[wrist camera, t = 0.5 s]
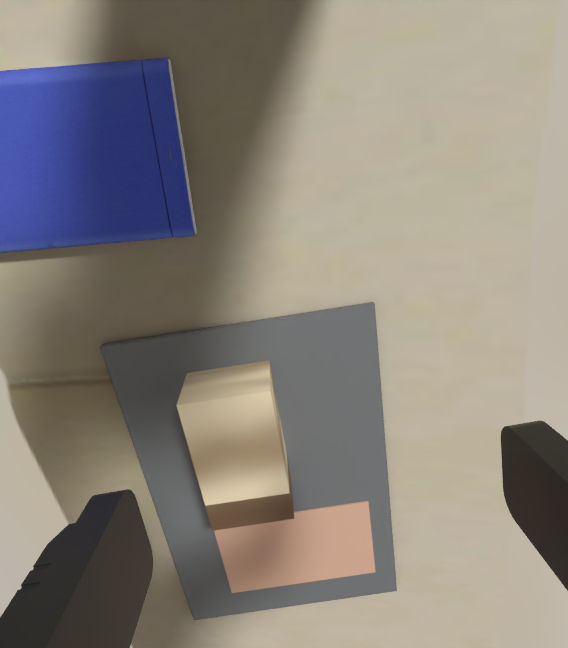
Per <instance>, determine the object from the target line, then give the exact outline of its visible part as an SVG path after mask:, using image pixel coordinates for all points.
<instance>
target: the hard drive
mask: <svg viewBox="0 0 568 648" xmlns="http://www.w3.org/2000/svg"><path fill="white" fill-rule="evenodd" d="M196 233H197V229H196V223H195V217H194V211H193V204H192V198H191V191H190V185H189V179H188V172H187V165H186V159H185V152H184V146H183V140H182V133H181V127H180V120H179V113H178V107H177V100H176V94H175V87H174V80H173V74H172V67H171V61H170V60H169V59H168V58H157V59H145V60H130V61H119V62H107V63H94V64H80V65H71V66H59V67H45V68H31V69H19V70H6V71H0V253H4V252H16V251H26V250H39V249H49V248H61V247H72V246H84V245H95V244H108V243H119V242H130V241H141V240H152V239H163V238H173V237H188V236H195V235H196Z"/></svg>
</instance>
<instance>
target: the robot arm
mask: <svg viewBox="0 0 568 648" xmlns="http://www.w3.org/2000/svg"><path fill="white" fill-rule="evenodd" d="M501 450H502V471H503V490H504V496H505V500H506V503H507V506H508V508H509V511H510V513H511V515H512V517H513V518H514V520H515V521H516V523H517V524H518V525H519V526H520V528H521V529H522V531H523V532H524V533H525V534H526V536H527V537H528V539H529V540H530V541H531V543H532V544H533V545H534V547H535V548H536V549H537V551H538V552H539V553H540V555H541V556H542V557H543V559H544V560H545V561H546V562H547V564H548V565H549V566H550V568H551V569H552V570H553V572H554V573H555V574H556V576H557V577H558V578H559V580H560V581H561V582H562V584H563V585H564V586H565V588H566V589H567V590H568V441H567V440H566V439H565V438H564V437H563V436H561V435H560V434H559V433H558V432H556V431H555V430H554V429H552V427H550V426H549V425H548V424H547V423H545V422H543V421H535V422H529V423H523V424H517V425H511V426H506V427H504V428H503V429H502V432H501ZM33 567H34V569H33V570H32V571H30V572H29V574H28V575H27V577H26V579H25V580H24V582H23V583H22V585H21V586H22V588H21V590H18V591H17V593H16V594H15V596H14V597H13V599H12V600H11V602H10V604H9V605H8V607H7V608H6V610H5V611H4V613H3V615H2V616H1V617H0V648H130V644H131V641H132V638H133V635H134V632H135V628H136V625H137V622H138V619H139V616H140V612H141V609H142V606H143V603H144V600H145V597H146V593H147V590H148V587H149V584H150V580H151V576H152V568H153V557H152V550H151V545H150V542H149V539H148V536H147V532H146V529H145V526H144V523H143V520H142V516H141V513H140V510H139V507H138V504H137V500H136V497H135V495H134V493H133V492H132V491H131V490H122V491H116V492H110V493H104V494H99V495H94V496H93V497H91V499H90V500H89V502H88V503H87V505H86V507H85V508H84V510H83V512H82V514H81V515H80V517H79V519H78V520H77V522H76V523H73V524H69V525H68V526H67V527H66V528H64V530H62V531H61V532H60V533H59V534H58V535H57V536H56V537H55V538H54V539H53V540H52V541H51V542H50V543H48V545H47V546H46V548H45V549H44V551H43V552H42V554H41V555H40V557H39V558H38V560H37V561H36V563H35V565H34V566H33Z"/></svg>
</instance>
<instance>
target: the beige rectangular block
mask: <svg viewBox="0 0 568 648" xmlns="http://www.w3.org/2000/svg"><path fill="white" fill-rule="evenodd" d="M176 406H177V409H178V413H179V416H180V419H181V423H182V426H183V430H184V433H185V437H186V440H187V444H188V447H189V451H190V454H191V458H192V461H193V465H194V468H195V472H196V475H197V479H198V482H199V486H200V489H201V493H202V496H203V500H204V503H205V507H206V510H207V514H208V517H209V521H210V524H211V527H212V531H215V530H221V529H228V528H235V527H242V526H248V525H255V524H262V523H269V522H275V521H282V520H289V519H294V508H293V496H292V483H291V475H290V470H289V464H288V459H287V453H286V448H285V442H284V437H283V431H282V426H281V421H280V415H279V410H278V404H277V399H276V393H275V388H274V382H273V377H272V372H271V366H270V361H269V360H268V361H262V362H255V363H249V364H243V365H236V366H230V367H223V368H217V369H210V370H204V371H197V372H191V373H187V374H186V377H185V380H184V383H183V387H182V390H181V393H180V396H179V399H178V402H177V405H176Z"/></svg>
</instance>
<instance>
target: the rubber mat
mask: <svg viewBox="0 0 568 648" xmlns="http://www.w3.org/2000/svg"><path fill="white" fill-rule="evenodd" d="M100 348H101V351H102V354H103V357H104V360H105V363H106V366H107V369H108V371H109V374H110V377H111V380H112V383H113V386H114V389H115V392H116V395H117V398H118V401H119V403H120V406H121V409H122V412H123V415H124V418H125V421H126V424H127V427H128V430H129V432H130V435H131V438H132V441H133V444H134V447H135V450H136V453H137V456H138V459H139V462H140V464H141V467H142V470H143V473H144V476H145V479H146V482H147V485H148V488H149V491H150V493H151V496H152V499H153V502H154V505H155V508H156V511H157V514H158V517H159V520H160V523H161V525H162V528H163V531H164V534H165V537H166V540H167V543H168V546H169V549H170V552H171V554H172V557H173V560H174V563H175V566H176V569H177V572H178V575H179V578H180V581H181V583H182V586H183V589H184V592H185V595H186V598H187V601H188V604H189V607H190V610H191V613H192V615H193V618H194V620H198V619H205V618H212V617H219V616H226V615H233V614H240V613H247V612H254V611H261V610H268V609H275V608H281V607H288V606H295V605H302V604H309V603H316V602H323V601H330V600H337V599H344V598H351V597H358V596H364V595H371V594H378V593H385V592H392V591H397V588H396V575H395V562H394V549H393V536H392V523H391V510H390V497H389V484H388V471H387V459H386V446H385V433H384V420H383V407H382V394H381V381H380V368H379V355H378V342H377V329H376V316H375V304H374V303H373V302H371V303H364V304H358V305H352V306H345V307H339V308H332V309H326V310H320V311H313V312H307V313H300V314H294V315H288V316H281V317H275V318H268V319H262V320H256V321H249V322H243V323H236V324H230V325H224V326H217V327H211V328H205V329H198V330H192V331H185V332H179V333H173V334H166V335H160V336H153V337H147V338H141V339H134V340H128V341H121V342H115V343H109V344H102V346H101V347H100ZM268 360H269V361H270V366H271V372H272V377H273V382H274V388H275V393H276V399H277V404H278V410H279V415H280V421H281V426H282V431H283V437H284V442H285V448H286V453H287V459H288V464H289V470H290V475H291V483H292V496H293V508H294V519H289V520H282V521H275V522H269V523H262V524H255V525H248V526H242V527H235V528H228V529H221V530H215V531H212V527H211V524H210V521H209V517H208V514H207V510H206V507H205V503H204V500H203V496H202V493H201V489H200V486H199V482H198V479H197V475H196V472H195V468H194V465H193V461H192V458H191V454H190V451H189V447H188V444H187V440H186V437H185V433H184V430H183V426H182V423H181V419H180V416H179V413H178V409H177V406H176V405H177V402H178V399H179V396H180V393H181V390H182V387H183V383H184V380H185V377H186V374H187V373H191V372H197V371H204V370H210V369H217V368H223V367H230V366H236V365H243V364H249V363H255V362H262V361H268Z"/></svg>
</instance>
